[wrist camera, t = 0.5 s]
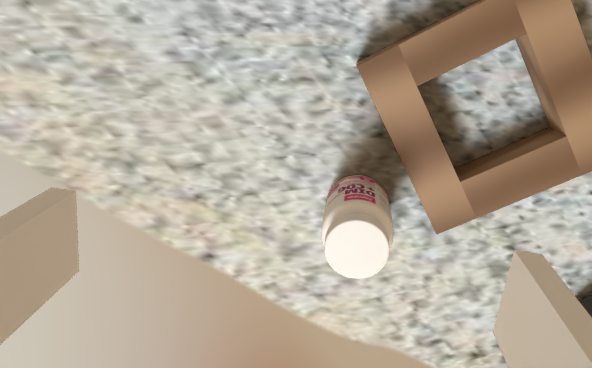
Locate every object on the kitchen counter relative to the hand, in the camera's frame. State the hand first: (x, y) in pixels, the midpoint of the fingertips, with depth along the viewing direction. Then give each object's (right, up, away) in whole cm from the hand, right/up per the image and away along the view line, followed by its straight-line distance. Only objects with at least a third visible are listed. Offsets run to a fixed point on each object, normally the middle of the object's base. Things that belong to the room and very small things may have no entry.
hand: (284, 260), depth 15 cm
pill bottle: (+5, +1, +24) cm, 25 cm away
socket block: (+13, +8, +20) cm, 26 cm away
